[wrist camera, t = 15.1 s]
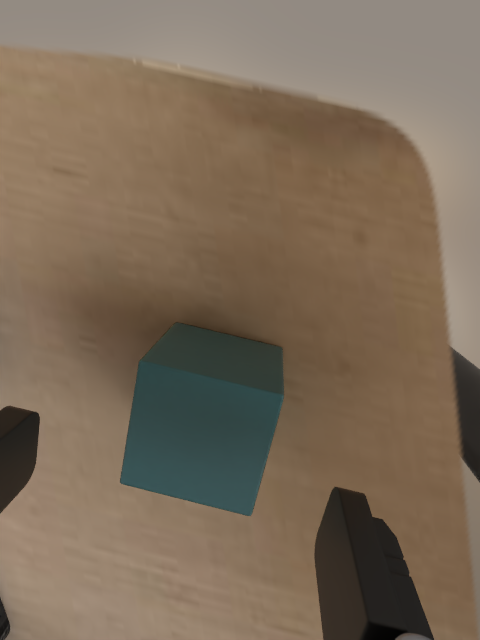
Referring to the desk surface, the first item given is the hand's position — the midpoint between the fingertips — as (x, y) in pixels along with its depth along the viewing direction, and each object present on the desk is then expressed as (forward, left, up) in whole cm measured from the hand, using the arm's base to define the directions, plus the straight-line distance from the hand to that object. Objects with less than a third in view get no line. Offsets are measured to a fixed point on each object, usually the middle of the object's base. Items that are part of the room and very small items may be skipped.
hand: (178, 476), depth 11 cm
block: (0, 0, -7) cm, 7 cm away
